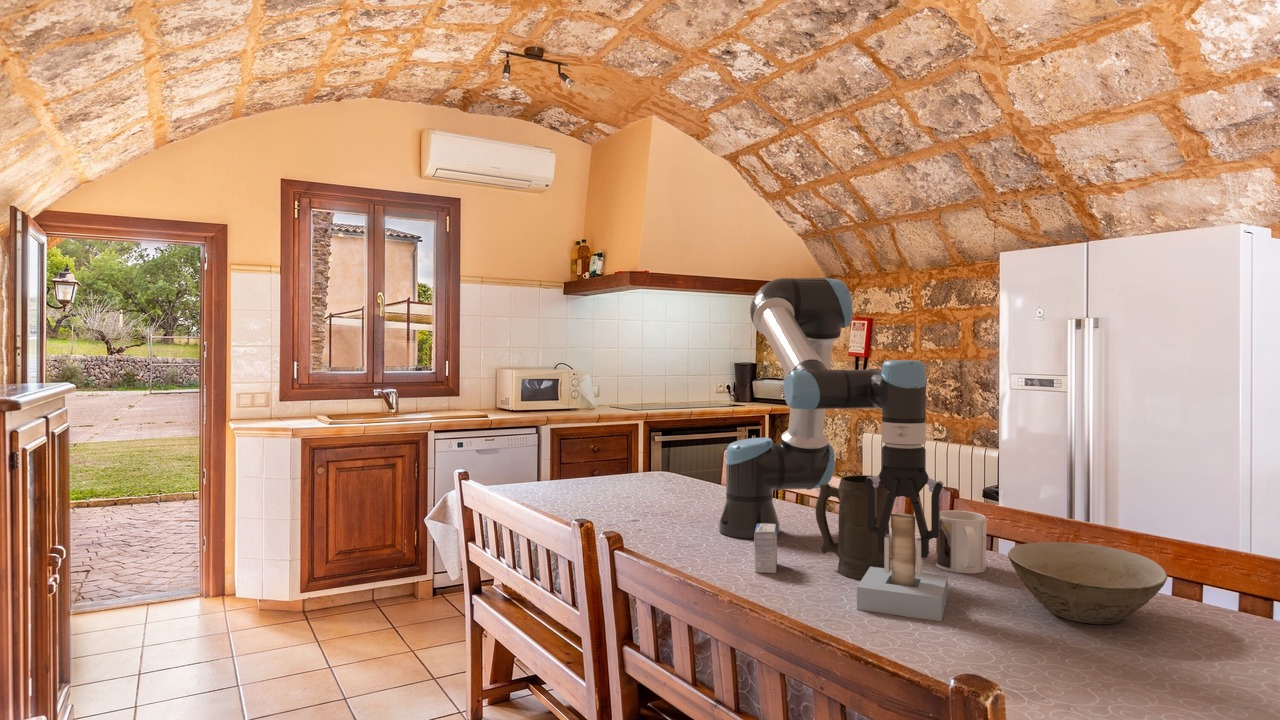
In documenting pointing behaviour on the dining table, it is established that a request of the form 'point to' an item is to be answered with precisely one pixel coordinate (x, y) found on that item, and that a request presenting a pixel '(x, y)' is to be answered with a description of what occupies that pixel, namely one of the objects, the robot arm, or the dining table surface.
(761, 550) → the medicine box
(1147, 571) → the bowl
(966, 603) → the dining table surface
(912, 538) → the beech peg
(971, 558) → the mug
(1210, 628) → the dining table surface
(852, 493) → the beer stein
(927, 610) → the socket block
